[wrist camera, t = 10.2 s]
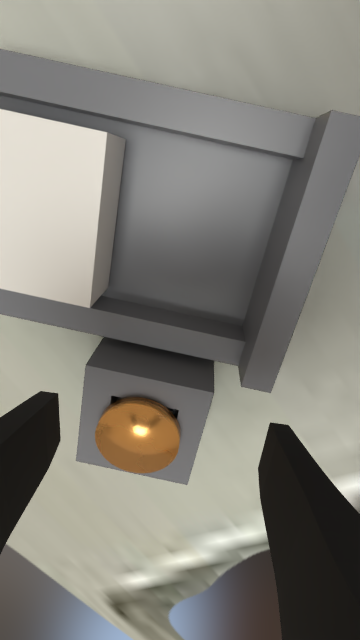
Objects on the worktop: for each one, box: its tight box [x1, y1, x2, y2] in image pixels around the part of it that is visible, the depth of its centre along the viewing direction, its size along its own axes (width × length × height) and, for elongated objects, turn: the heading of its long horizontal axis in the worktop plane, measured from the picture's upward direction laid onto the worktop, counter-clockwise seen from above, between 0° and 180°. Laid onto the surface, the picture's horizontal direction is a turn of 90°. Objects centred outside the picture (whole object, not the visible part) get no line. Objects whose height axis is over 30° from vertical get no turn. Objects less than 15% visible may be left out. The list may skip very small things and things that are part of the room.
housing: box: [0, 49, 360, 485], centre depth 18 cm, size 16×19×5 cm
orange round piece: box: [95, 397, 180, 473], centre depth 20 cm, size 4×4×4 cm
